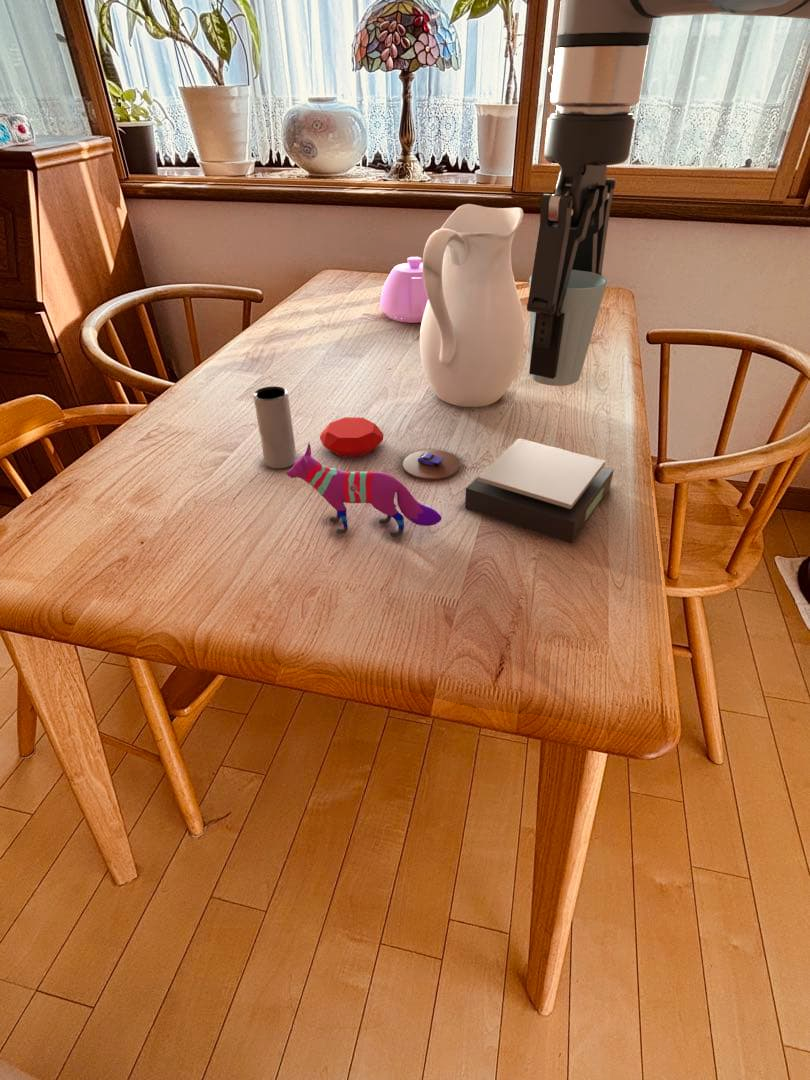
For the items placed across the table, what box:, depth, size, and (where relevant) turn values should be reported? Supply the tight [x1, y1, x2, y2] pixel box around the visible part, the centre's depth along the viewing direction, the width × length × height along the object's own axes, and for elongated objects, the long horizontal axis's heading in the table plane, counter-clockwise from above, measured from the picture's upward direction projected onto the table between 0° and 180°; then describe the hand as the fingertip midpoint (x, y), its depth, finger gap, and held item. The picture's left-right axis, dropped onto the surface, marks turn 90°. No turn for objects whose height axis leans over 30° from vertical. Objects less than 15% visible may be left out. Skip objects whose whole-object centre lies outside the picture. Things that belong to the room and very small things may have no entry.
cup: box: [528, 270, 608, 387], centre depth 66 cm, size 8×8×10 cm
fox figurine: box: [285, 442, 443, 538], centre depth 72 cm, size 4×18×10 cm, turn 85°
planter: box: [252, 385, 298, 469], centre depth 86 cm, size 4×4×10 cm
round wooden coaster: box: [402, 449, 462, 482], centre depth 87 cm, size 8×8×2 cm
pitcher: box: [419, 203, 526, 408], centre depth 96 cm, size 24×17×28 cm
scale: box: [464, 437, 615, 544], centre depth 79 cm, size 14×14×4 cm
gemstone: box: [319, 416, 385, 458], centre depth 91 cm, size 9×9×3 cm
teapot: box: [379, 256, 428, 324], centre depth 140 cm, size 22×16×12 cm
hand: (556, 362), depth 68 cm, fingers closed on cup, 7 cm apart
